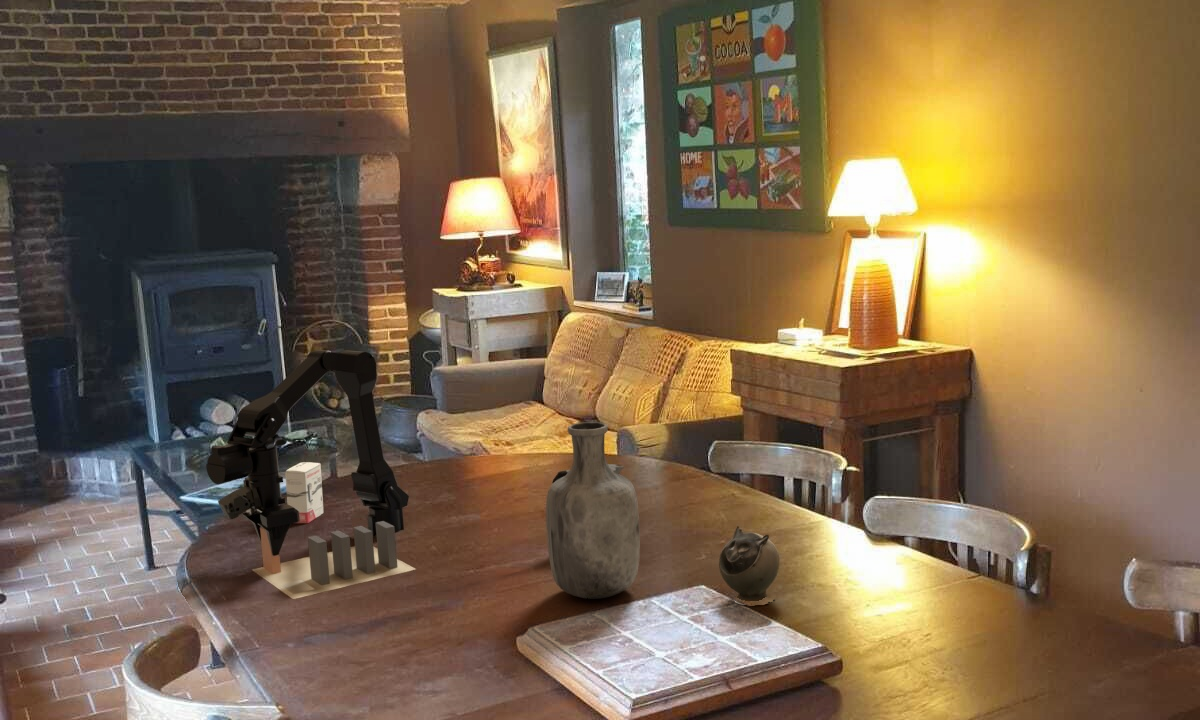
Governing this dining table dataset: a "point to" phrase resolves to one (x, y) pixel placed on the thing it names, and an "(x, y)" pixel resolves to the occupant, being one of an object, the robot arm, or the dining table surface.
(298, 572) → the domino board
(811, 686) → the dining table surface
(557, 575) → the vase
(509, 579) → the dining table surface
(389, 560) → the domino
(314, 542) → the domino
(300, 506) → the ink box
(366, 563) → the domino
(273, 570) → the end tile
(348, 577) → the domino
